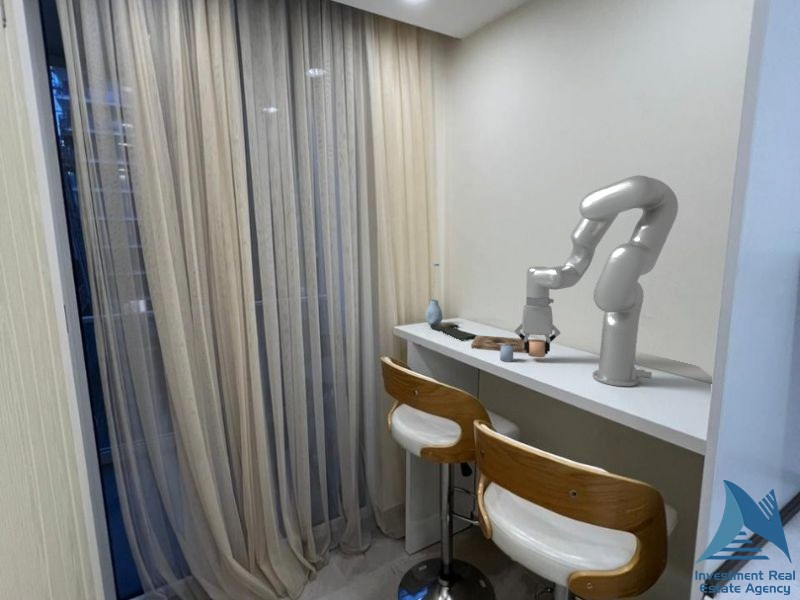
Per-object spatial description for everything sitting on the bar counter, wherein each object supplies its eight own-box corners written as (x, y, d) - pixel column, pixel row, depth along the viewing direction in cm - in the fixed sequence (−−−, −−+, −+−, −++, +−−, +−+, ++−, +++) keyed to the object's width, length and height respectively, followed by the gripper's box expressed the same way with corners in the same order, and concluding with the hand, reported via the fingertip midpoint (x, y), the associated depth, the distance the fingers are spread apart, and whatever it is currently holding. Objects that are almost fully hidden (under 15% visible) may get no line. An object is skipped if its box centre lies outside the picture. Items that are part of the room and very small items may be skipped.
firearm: (490, 333, 180) (462, 337, 172) (489, 339, 180) (461, 343, 173) (451, 321, 204) (425, 324, 197) (450, 325, 204) (425, 328, 197)
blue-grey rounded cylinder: (513, 359, 149) (513, 345, 148) (512, 362, 145) (513, 348, 144) (500, 358, 150) (501, 344, 149) (499, 361, 146) (500, 347, 145)
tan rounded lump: (545, 353, 149) (545, 339, 148) (545, 357, 144) (546, 343, 143) (528, 352, 151) (528, 339, 150) (528, 356, 145) (528, 342, 145)
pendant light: (435, 322, 209) (436, 263, 204) (445, 325, 202) (447, 264, 197) (422, 324, 205) (423, 263, 200) (431, 327, 198) (433, 264, 193)
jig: (530, 342, 171) (530, 339, 171) (530, 353, 156) (530, 349, 156) (476, 338, 178) (476, 335, 178) (471, 348, 163) (471, 344, 162)
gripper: (563, 301, 146) (562, 351, 148) (512, 300, 151) (512, 349, 153) (565, 304, 139) (563, 356, 141) (511, 303, 144) (511, 354, 146)
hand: (536, 352), depth 147 cm, fingers closed on tan rounded lump, 5 cm apart
